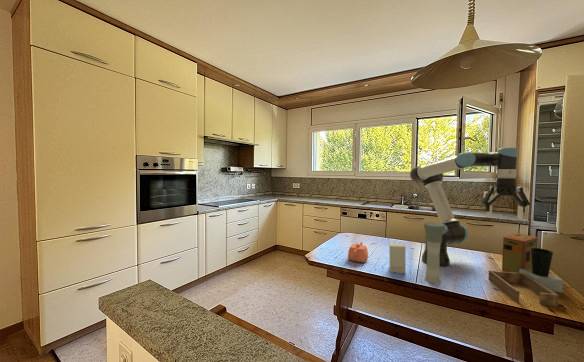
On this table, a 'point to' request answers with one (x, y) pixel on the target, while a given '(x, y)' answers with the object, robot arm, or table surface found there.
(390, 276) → the table surface
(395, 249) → the skincare box
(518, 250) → the box
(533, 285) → the walnut frame
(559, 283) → the slate plinth
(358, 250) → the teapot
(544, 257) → the cup
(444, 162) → the robot arm
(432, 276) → the container
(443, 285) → the table surface
